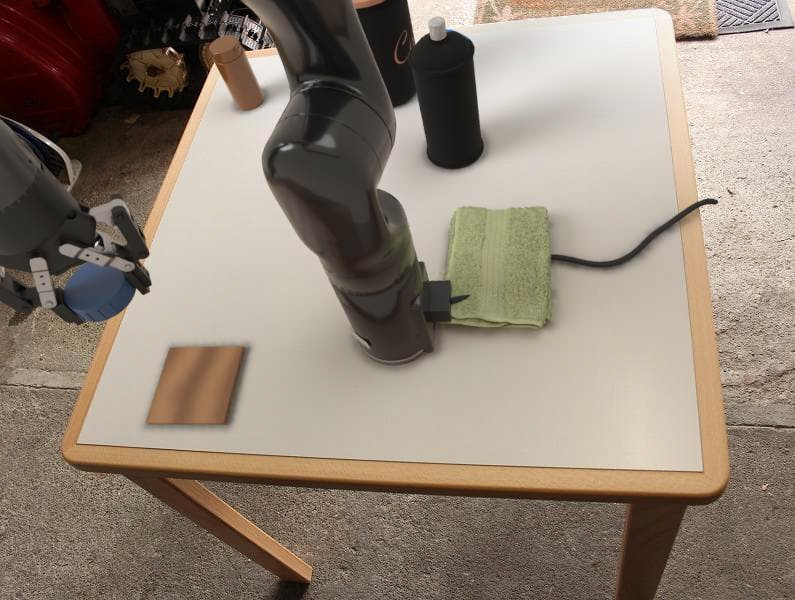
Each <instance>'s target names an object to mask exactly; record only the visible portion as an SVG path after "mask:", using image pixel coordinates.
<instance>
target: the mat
mask: <svg viewBox="0 0 795 600" xmlns="http://www.w3.org/2000/svg"><path fill="white" fill-rule="evenodd" d="M245 349H246V348H245V347H244V346H243V345H235V346H234V345H232V346H231V345H227V346H226V345H225V346H183V347H181V346H179V347H178V346H177V347H169V348H168V352H167V355H166V357H165V361H164V364H163V366H162V370H161V373H160V376H159V379H158V382H157V385H156V388H155V392H154V395H153V397H152V400H151V403H150V407H149V410H148V413H147V416H146V419H145V424H147V425H199V426H201V425H202V426H203V425H207V426H209V425H213V426H214V425H215V426H222V425H223V426H226V425H227V422H228V418H229V414H230V409H231V405H232V401H233V397H234V394H235V389H236V385H237V382H238V377H239V374H240V370H241V365H242V362H243V357H244V353H245Z"/></svg>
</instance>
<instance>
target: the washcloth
mask: <svg viewBox="0 0 795 600" xmlns="http://www.w3.org/2000/svg"><path fill="white" fill-rule="evenodd" d="M548 212H549V210H548V209H547V207H545V206H542V205H540V206H539V205H537V206H524V207H521V206H519V207H508V208H507V209H487V207H481V206H472V205H468V206H464V205H463V206H460V207H457V208H456V210H455V211H454V212H453V214H452V218H451V220H450V223H449V226H450V229H449V232H448V234H449V238H448V241H449V246H448V252H447V260H446V270H445V272H444V275H445V278H444V280H450V282H451V286H452V292H451V298H452V297H457V296H461V295H470V296H469V297H468V298H467V299H466V300H463V301H461V302H457V303H453V304H451V322H439V324H440V325H446V324H447V325H451V324H456V325H464V326H471V327H478V328H479V327H480V328H506V329H507V328H508V329H509V328H510V329H515V328H517V329H532V330H541V329H542V328H543V325H546V324H547V323H549V322H550V321H551V317H552V316H553V314H552V313H553V305H554V303H553V300H552V295H553V291H552V278H551V277H552V268H551V267H552V263H551V262H552V260H551V259H550V258H551V254H552V253H551V252H552V251H551V246H552V245H551V243H550V242H551V235H550V234H551V230H550V222H549V213H548Z"/></svg>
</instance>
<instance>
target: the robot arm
mask: <svg viewBox="0 0 795 600" xmlns="http://www.w3.org/2000/svg"><path fill="white" fill-rule="evenodd" d="M239 2H241V3H243V5H245V6H246V7H248V9H250V10H251V11H252V12H253V13H254V14H255V15H256V16H257V17H258V18H259V20H260V21H261V22H262V24H263V25H264V27H265V28H266V30H267V32H268V34H269V36H270V37H271V40H272V43H273V44H274V47H275V49H276V52H277V54H278V56H279V59H280V61H281V63H282V66H283V69H284V72H285V76H286V79H287V83H288V86H289V88H288V89H289V100H288V102H287V104H286V106H285V108H284V110H283V111H282V113H281V116H280V117H279V119H278V121H277V123H276V124H275V127H274V128H273V130H272V132H271V134H270V136H269V137H268V139H267V141H266V143H265V145H264V148H263V150H262V154H261V167H262V172H263V175H264V179H265V182H266V184H267V186H268V188H269V190H270V193H272V195H273V197H274V199H275V201H276V203H277V204H278V206H279V207H280V209H281V211H282V213H283V214H284V216H285V218H286V219H287V220H288V222H289V224H290V226H291V228H292V229H293V232H294V233H295V234H296V235H297V237H298V239H299V240H300V241H301V242H302V243H303V244H304V246H305V247H306V248H307V249H308V250H309V251H311V252H312V253H313V254H314V255H315V256H316V257H317V258H318V260H319V262H320V264H321V266H322V268H323V270H324V273H325V275H326V277H327V279H328V281H329V283H330V285H331V287H332V289H333V291H334V293H335V295H336V298H337V299H338V301H339V304H340V306H341V308H342V309H343V312H344V314H345V316H346V317H347V321H348V322H349V324H350V326H351V328H352V330H350V332H351V334H352V337H353V338H355V339H356V340H357V342H358V345H359V346H360V348H361V350H362V352H363V354H364V355H366V356H367V358H369V359H370V360H372V361H374V362H377V363H379V364H382V365H387V366H398V365H399V366H400V365H404V364H407V363H410V362H412V361H414V360H416V359H418V358H419V357H421V356H422V355H423V354H425V353H426V354H427V353H433V352H434V351H435V335H436V330H437V324H436V323H440V322H451V304H453V303H457V302H461V301H463V300H466V299H467V298H468V297H469V296H470V295H461V296H457V297H452V298H451V292H452V286H451V282H450V280H445V279H441V280H430V278H429V275H428V270H427V267H426V263H425V262H424V261H423V260H422V261H421V260H420V261H419V257H418V255H417V251H416V247H415V244H414V240H413V239H414V238H413V235H412V231H411V229H410V228H411V227H410V225H409V220H408V216H407V214H406V211H405V209H404V207H403V205H402V203H401V202H400V201H399V200H398V198H397V197H396V196H394V195H392V194H391V192H388V191H385V190H383V189H381V188H378V186H379V184H380V182H381V179H382V176H383V174H384V171H385V169H386V166H387V163H388V161H389V158H390V156H391V153H392V150H393V148H394V145H395V141H396V136H397V118H396V113H395V109H394V107H393V105H392V102H391V99H390V96H389V93H388V91H387V88H386V86H385V83H384V81H383V78H382V76H381V73H380V71H379V68H378V66H377V63H376V61H375V58H374V56H373V53H372V51H371V48H370V46H369V44H368V41H367V39H366V36H365V34H364V31H363V28H362V26H361V23H360V21H359V18H358V15H357V12H356V9H355V6H354V3H353V0H239ZM107 199H108V200H107V201H108V202H106V203H103V204H100V205H97V206H94V207H90V206H88V205H86V204H84V203H81V202H79V201H77V200H76V199H75V198H74V196H73V195H72V194H71V193H70V192H69V190H68V189H66V187H65V186H64V185H63V184H62V183H61V182H60V180H58V179H57V177H56V175H54V174H53V173H52V172H51V170H50V169H49V168H48V167H47V166H46V165H45V164H44V163H43V162H42V160H41V159H39V157H38V156H37V155H36V154H35V153H34V151H33V149H32V148H31V146H30V145H29V144H28V143H27V142H26V141H25V140H24V139H22V138H21V137H20V136H18V134H17V133H16V132H15V131H14V130H13V129H12V128H11V127H10V126H9V125H8V124H7V123H6V122H4V120H3V119H1V118H0V302H1V303H2V304H4V305H6V306H7V307H10V308H11V309H13V310H15V311H17V312H18V313H20V314H29V313H32V312H33V311H34V308H39V307H43V308H44V309H49V310H50V311H52V313H54V314H55V315H57V316H58V317H59V318H60V319H61V320H63V322H65V323H68V324H73V323H74V324H75V325H76V326H77V327H79V326H81V325H83V324H86V323H87V321H86V320H83V319H82V318H81V317H80V316H79V315H77V314H76V313H75V312H74V311H73V310H72V309H70V308H69V307H68V305H67V304H66V302H65V300H64V288H62V287H61V286H58V287H55V281H54V277H56V278H57V277H58V276H61V275H64V274H65V273H66V272H68V271H69V270H70V269H72V268H75V267H80V266H83V265H85V264H86V263H88V262H90V263H93V264H96V265H98V266H101V267H106V266H111V267H113V268H116V269H119V270H122V271H123V275H124V276H125V277H126V278H127V279H128V280H129V281H130V282H131V283H132V284H133V285H134V287H135V288H136V291H138V292H139V293H140V294H141V295H142V296H145V295H147V294H149V293H151V286H153V284H152V279H151V275H150V272H149V269H147V268H146V267H145V266H144V265H143V264H142V262H141V261H140V260H146V259H147V258H149V257H150V256H151V255H150V253H151V252H150V250H149V248H148V243H147V238H146V235H145V233H144V231H143V230H142V228H141V226H140V224H139V223H138V221H137V218H136V217H135V216H134V214H133V211H132V210H131V208H130V207H129V205H128V203H127V201H126V200H125V198H124V196H123V195H122V194H120V193H112V194H110V195H109V197H108V198H107ZM717 204H719V200H717V199H716V198H712V197H708V198H704V199H701V200H698V201H696V202H694V203H692V204H690V205H689V206H687V207H686V208H684V209H683V210H682V211H680V212H679V213H677V214H676V215H675V216H673V217H672V218H670V219H669V220H667V221H666V222H664V223H663V224H661V225H660V226H659V227H657V228H656V229H654V230H653V231H652V232H650V234H648V235H647V236H646V237H645V238H644V239H643V240H642V241H641V242H639V244H638V245H637V246H636V247H635V248H634V249H632V250H631V251H630V252H628V253H627V254H625V255H623V256H621V257H618V258H616V259H612V260H607V261H594V260H588V259H583V258H578V257H574V256H569V255H565V254H564V255H563V254H555V253H553V254H552V253H550V254H551V258H550V259H551V261H559V262H560V261H561V262H567V263H571V264H574V265H579V266H584V267H590V268H598V269H599V268H600V269H601V268H610V267H615V266H619V265H622V264H624V263H626V262H628V261H630V260H633V258H635V257H636V256H638V254H640V253H641V252H642V251H643V250H644V249H645V248H646V247H647V246H648V245H649V244H650V243H651V242H652V241H653V240H654V239H655V238H657V237H658V236H659V235H660V234H662V233H664V232H665V231H666V230H668V229H669V228H671V227H672V226H674V225H675V224H677V223H678V222H680V221H681V220H682V219H684V218H685V217H686V216H688V215H690V214H691V213H692V212H694V211H696V210H697V209H700V208H701V207H704V206H707V205H712V206H714V205H715V206H716V205H717ZM98 223H103V224H106V225H107V226H108V227H109V228H111V229H112V230H114V231H118V230H119V231H120V233H121V235H122V236H123V238H124V239H125V241H126V243H124V242H121V241H119V240H115V239H113V238H111V236H109V234H108V233H106V232H104V231H102V230H99V229H97V228H98V227H97V225H98ZM6 269H10V270H14V271H19V272H26V273H30V274H32V276H33V277H32V278H33V280H34V284H35V286H30V285H28V284H26V283H25V282H23V281H22V280H20V279H18V278H17V277H15V276H13V275H11V274H10V273H8V272H7V271H6Z"/></svg>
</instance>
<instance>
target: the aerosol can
mask: <svg viewBox="0 0 795 600" xmlns="http://www.w3.org/2000/svg"><path fill="white" fill-rule="evenodd" d="M427 24H428V31H429V32H428V33H426V34H424V35H423V36H422V37H420V38H419V39H418V41H417V42H415V45H414V46H413V48H412V49H411V51H410V53H409V56H408V62H409V65H410V66H411V68H412V71H413V76H414V81H415V86H416V96H417V101H418V106H419V111H420V117H421V122H422V127H423V132H424V136H425V142H426V156H427V158H428V160H429V162H431V163H432V164H433V165H435V166H436V167H438V168H441V169H446V170H456V169H463V168H466V167H469V166H470V165H471V164H473V163H475V162H476V161H477V160H478V159H479V158H480V157H481V156H482V154H483V153H484V148H485V142H484V140H483V138H482V132H481V130H482V129H481V120H480V112H479V111H480V110H479V101H478V90H477V89H478V88H477V80H476V69H475V60H474V56H475V51H476V50H475V49H476V47H475V44H474V42H473V41H472V39H471V38H469V37H468V36H467V35H465V34H463V33H460V32H459V31H456V30H455V29H454V30H453V29H448V28H446V27H447V26H446V20H445V18H444V17H442V16H433V17H431V19H429V21H428V22H427Z"/></svg>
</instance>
